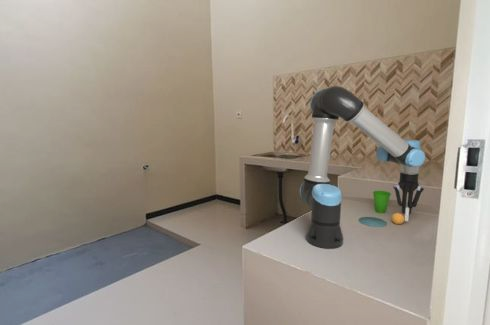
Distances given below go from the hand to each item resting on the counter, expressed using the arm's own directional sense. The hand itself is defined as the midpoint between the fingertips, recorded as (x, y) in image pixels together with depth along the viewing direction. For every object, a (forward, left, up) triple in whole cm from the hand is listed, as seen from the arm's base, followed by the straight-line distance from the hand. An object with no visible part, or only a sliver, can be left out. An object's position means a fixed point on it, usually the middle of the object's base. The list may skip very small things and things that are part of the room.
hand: (405, 220), depth 134 cm
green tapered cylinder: (-8, +17, -3) cm, 19 cm away
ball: (-3, 0, 0) cm, 3 cm away
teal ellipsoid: (-15, 0, -2) cm, 15 cm away
